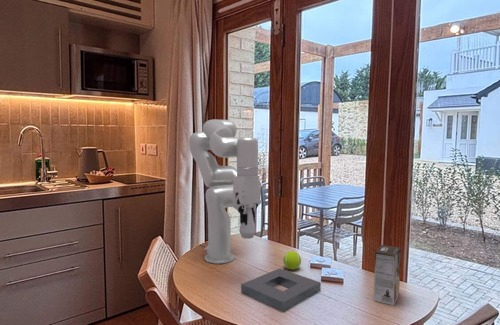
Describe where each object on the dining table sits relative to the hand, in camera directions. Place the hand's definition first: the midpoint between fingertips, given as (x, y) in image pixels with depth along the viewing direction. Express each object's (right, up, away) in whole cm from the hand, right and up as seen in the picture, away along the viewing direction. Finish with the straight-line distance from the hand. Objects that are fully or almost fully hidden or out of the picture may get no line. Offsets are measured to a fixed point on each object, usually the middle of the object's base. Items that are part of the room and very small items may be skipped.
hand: (247, 223), depth 123 cm
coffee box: (+45, -23, -11) cm, 52 cm away
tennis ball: (+18, -21, +13) cm, 30 cm away
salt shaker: (0, -5, 0) cm, 5 cm away
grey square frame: (+11, -22, -7) cm, 26 cm away
